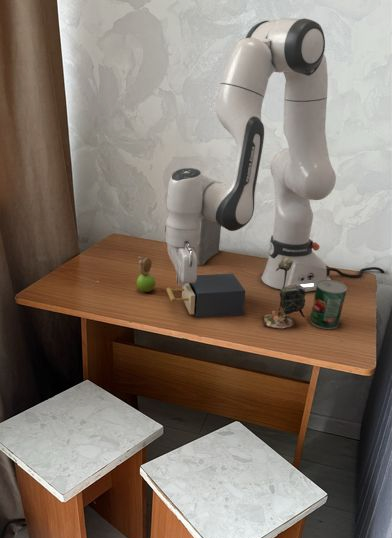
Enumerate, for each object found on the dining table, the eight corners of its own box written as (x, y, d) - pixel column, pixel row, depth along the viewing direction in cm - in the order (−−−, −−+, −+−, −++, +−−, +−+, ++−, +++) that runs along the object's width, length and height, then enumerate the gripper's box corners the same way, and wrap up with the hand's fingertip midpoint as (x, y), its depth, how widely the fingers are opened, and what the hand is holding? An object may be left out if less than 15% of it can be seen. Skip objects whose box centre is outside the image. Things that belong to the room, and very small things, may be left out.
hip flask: (201, 266, 165) (205, 206, 155) (190, 263, 167) (194, 204, 156) (220, 251, 178) (225, 194, 167) (209, 248, 179) (213, 192, 168)
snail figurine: (131, 293, 145) (131, 255, 139) (141, 285, 150) (141, 247, 144) (148, 297, 144) (148, 259, 137) (158, 289, 149) (158, 251, 142)
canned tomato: (344, 325, 136) (353, 288, 131) (324, 331, 133) (332, 294, 127) (323, 312, 142) (331, 277, 136) (303, 319, 138) (310, 282, 132)
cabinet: (196, 317, 135) (197, 293, 131) (186, 299, 144) (188, 275, 140) (242, 314, 138) (245, 290, 134) (230, 296, 148) (233, 273, 144)
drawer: (172, 315, 134) (172, 296, 131) (165, 298, 142) (165, 280, 139) (233, 311, 138) (235, 293, 135) (222, 295, 146) (224, 277, 143)
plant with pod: (302, 333, 131) (317, 263, 120) (260, 327, 133) (270, 257, 122) (303, 319, 138) (317, 251, 127) (263, 313, 140) (272, 245, 129)
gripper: (204, 250, 120) (200, 301, 127) (186, 222, 137) (183, 269, 144) (179, 250, 118) (176, 302, 126) (163, 222, 135) (162, 269, 142)
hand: (180, 284), depth 135 cm, fingers closed
